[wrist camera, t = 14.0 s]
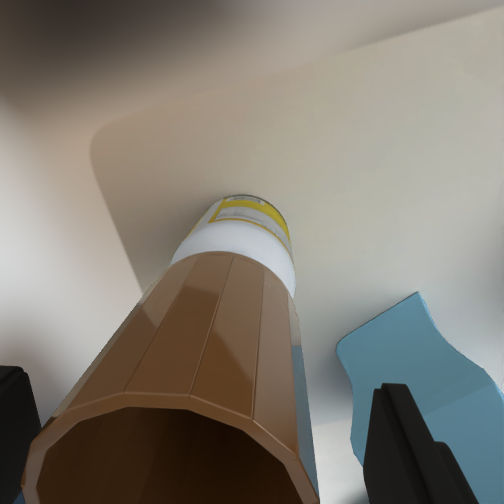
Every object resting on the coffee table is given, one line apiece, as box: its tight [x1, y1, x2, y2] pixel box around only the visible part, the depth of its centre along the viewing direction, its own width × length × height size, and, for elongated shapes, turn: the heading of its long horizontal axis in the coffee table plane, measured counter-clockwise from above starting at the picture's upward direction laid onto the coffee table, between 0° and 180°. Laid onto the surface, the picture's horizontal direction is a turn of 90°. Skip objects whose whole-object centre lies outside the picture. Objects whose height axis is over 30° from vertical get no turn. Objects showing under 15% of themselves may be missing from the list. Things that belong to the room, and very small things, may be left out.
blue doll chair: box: [336, 292, 504, 504], centre depth 19 cm, size 8×8×20 cm
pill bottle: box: [170, 195, 295, 299], centre depth 21 cm, size 6×6×12 cm
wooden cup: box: [20, 251, 320, 504], centre depth 11 cm, size 6×6×8 cm
